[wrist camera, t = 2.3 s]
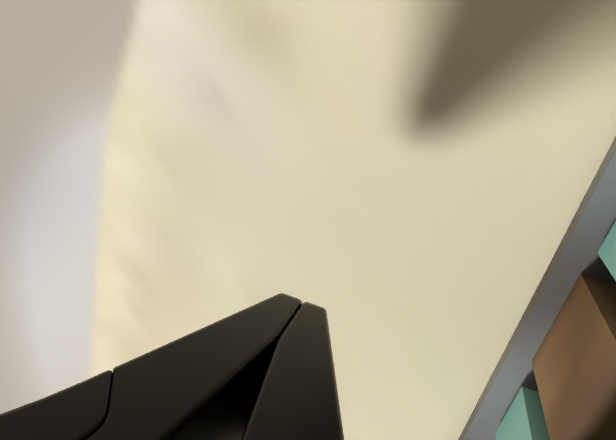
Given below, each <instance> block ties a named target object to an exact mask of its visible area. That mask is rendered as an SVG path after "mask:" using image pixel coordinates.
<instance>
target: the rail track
mask: <svg viewBox="0 0 616 440" xmlns="http://www.w3.org/2000/svg"><path fill="white" fill-rule="evenodd" d="M615 221H616V138H615V140H614V142H613V144H612V145H611V147H610V149H609V151H608V153H607V155H606V157H605V159H604V161H603V163H602V165H601V167H600V169H599V170H598V172H597V174H596V176H595V178H594V180H593V182H592V184H591V186H590V188H589V190H588V192H587V194H586V195H585V197H584V199H583V201H582V203H581V205H580V207H579V209H578V211H577V213H576V215H575V217H574V219H573V220H572V222H571V224H570V226H569V228H568V230H567V232H566V234H565V236H564V238H563V240H562V242H561V244H560V246H559V247H558V249H557V251H556V253H555V255H554V257H553V259H552V261H551V263H550V265H549V267H548V269H547V271H546V272H545V274H544V276H543V278H542V280H541V282H540V284H539V286H538V288H537V290H536V292H535V294H534V296H533V297H532V299H531V301H530V303H529V305H528V307H527V309H526V311H525V313H524V315H523V317H522V319H521V321H520V322H519V324H518V326H517V328H516V330H515V332H514V334H513V336H512V338H511V340H510V342H509V344H508V346H507V347H506V349H505V351H504V353H503V355H502V357H501V359H500V361H499V363H498V365H497V367H496V369H495V371H494V373H493V374H492V376H491V378H490V380H489V382H488V384H487V386H486V388H485V390H484V392H483V394H482V396H481V398H480V399H479V401H478V403H477V405H476V407H475V409H474V411H473V413H472V415H471V417H470V419H469V421H468V423H467V424H466V426H465V428H464V430H463V432H462V434H461V436H460V438H459V440H496V438H495V433H496V431H497V429H498V427H499V426H500V424H501V422H502V420H503V418H504V417H505V415H506V413H507V411H508V410H509V408H510V406H511V404H512V403H513V401H514V399H515V397H516V396H517V394H518V392H519V390H520V388H521V387H522V386H523V387H526V388H528V389H531V390H534V391H537V392H539V395H540V400H541V404H542V408H543V412H544V417H545V421H546V425H547V429H548V433H549V438H550V440H616V281H615V279H614V278H613V276H612V275H611V273H610V272H609V270H608V269H607V267H606V265H605V264H604V262H603V261H602V259H601V258H600V256H599V255H598V251H599V249H600V247H601V245H602V244H603V242H604V240H605V238H606V237H607V235H608V233H609V231H610V230H611V228H612V226H613V224H614V223H615Z"/></svg>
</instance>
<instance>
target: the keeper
mask: <svg viewBox="0 0 616 440" xmlns="http://www.w3.org/2000/svg"><path fill="white" fill-rule="evenodd" d="M598 255H599V256H600V258H601V259H602V261H603V262H604V264H605V265H606V267H607V269H608V270H609V272H610V273H611V275H612V276H613V278H614V279H615V281H616V221H615V223H614V224H613V226H612V228H611V230H610V231H609V233H608V235H607V237H606V238H605V240H604V242H603V244H602V245H601V247H600V249H599V251H598ZM495 438H496V440H550V438H549V433H548V429H547V425H546V421H545V417H544V412H543V408H542V404H541V400H540V395H539V392H537V391H534V390H531V389H528V388H526V387H523V386H522V387H521V388H520V390H519V392H518V394H517V396H516V397H515V399H514V401H513V403H512V404H511V406H510V408H509V410H508V411H507V413H506V415H505V417H504V418H503V420H502V422H501V424H500V426H499V427H498V429H497V431H496V433H495Z"/></svg>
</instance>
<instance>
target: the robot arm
mask: <svg viewBox="0 0 616 440" xmlns="http://www.w3.org/2000/svg"><path fill="white" fill-rule="evenodd" d="M0 440H344V435H343V428H342V421H341V413H340V406H339V399H338V392H337V385H336V377H335V370H334V363H333V356H332V349H331V341H330V334H329V327H328V320H327V313H326V310H325V309H324V308H322V307H319V306H317V305H314V304H311V303H308V302H304V303H303V304H302V301H301V300H300V299H297V298H294V297H292V296H289V295H286V294H283V293H281V294H278V295H275V296H273V297H271V298H269V299H266V300H264V301H262V302H260V303H258V304H255V305H253V306H251V307H249V308H246V309H244V310H242V311H240V312H237V313H235V314H233V315H231V316H229V317H226V318H224V319H222V320H220V321H217V322H215V323H213V324H211V325H209V326H206V327H204V328H202V329H200V330H197V331H195V332H193V333H191V334H188V335H186V336H184V337H182V338H180V339H177V340H175V341H173V342H171V343H168V344H166V345H164V346H162V347H159V348H157V349H155V350H153V351H151V352H148V353H146V354H144V355H142V356H139V357H137V358H135V359H133V360H130V361H128V362H126V363H124V364H122V365H119V366H117V367H115V368H114V369H113V373H112V371H110V370H108V371H105V372H103V373H101V374H99V375H97V376H94V377H92V378H90V379H88V380H85V381H83V382H81V383H78V384H76V385H74V386H71V387H69V388H66V389H64V390H62V391H59V392H57V393H55V394H53V395H50V396H47V397H45V398H43V399H40V400H37V401H35V402H32V403H29V404H27V405H24V406H21V407H19V408H16V409H13V410H11V411H8V412H5V413H3V414H0Z"/></svg>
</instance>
